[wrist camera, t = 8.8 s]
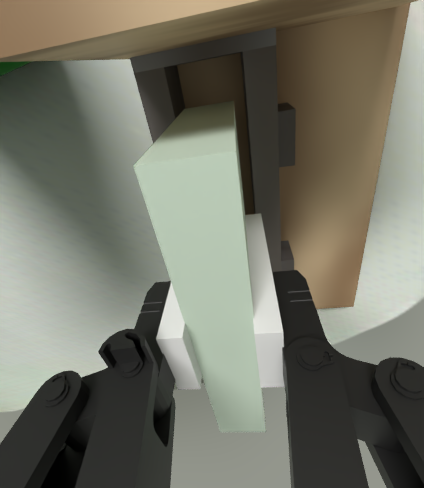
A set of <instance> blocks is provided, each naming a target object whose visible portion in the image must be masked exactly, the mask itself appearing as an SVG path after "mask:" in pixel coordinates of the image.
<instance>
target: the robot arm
mask: <svg viewBox="0 0 424 488" xmlns="http://www.w3.org/2000/svg"><path fill="white" fill-rule="evenodd" d="M245 221H246V232H247V244H248V255H249V267H250V278H251V290H252V301H253V313H254V318H253V324H254V336H255V344H256V353H257V361H258V370H259V378H260V387H261V388H262V387H285V391H286V410H287V411H286V412H287V424H288V440H289V457H290V474H291V488H369V486H368V482H367V478H366V474H365V470H364V465H363V462H362V457H361V453H360V448H359V444H358V440H357V439H360V440H362V441H365V443H366V445H367V447H368V449H369V451H370V453H371V455H372V458H373V460H374V462H375V464H376V466H377V468H378V470H379V472H380V474H381V476H382V479H383V481H384V483H385V485H386V487H387V488H424V367H422V366H420V365H419V364H417V363H415V362H413V361H410V360H407V359H404V358H388V359H385V360H383V361H381V362H380V363H379V364H378V365H374V364H370V363H366V362H362V361H358V360H354V359H352V358H349V357H346V356H344V355H342V354H341V353H339V352H338V351H336V350H335V349H334V348H333V347H332V346H331V345H330V344H329V342H328V341H327V339H326V337H325V334H324V331H323V328H322V325H321V322H320V319H319V316H318V313H317V310H316V308H315V305H314V302H313V299H312V296H311V293H310V290H309V287H308V284H307V281H306V278H305V277H304V276H303V275H302V274H301V273H300V272H299V271H298V270H290V271H278V272H272V269H271V264H270V259H269V253H268V248H267V243H266V237H265V232H264V227H263V222H262V216H261V213H260V214H251V215H245ZM99 354H100V355H101V357H102V358H103V360H104V361H105V363H106V364H107V366H108V368H106V369H104V370H102V371H99V372H96V373H93V374H90V375H88V376H85V377H82V378H81V377H80V375H79V374H78V373H76V372H74V371H63V372H61V373H58V374H56V375H54V376H53V377H51V378H50V379H49V380H47V381H46V382H45V383H44V384H43V385H42V386H41V387H40V389H39V390H38V391H37V392H36V394H35V395H34V397H33V398H32V400H31V401H30V402H29V404H28V405H27V407H26V408H25V410H24V411H23V412H22V414H21V415H20V417H19V418H18V420H17V421H16V422H15V424H14V425H13V427H12V428H11V430H10V431H9V432H8V434H7V435H6V437H5V438H4V440H3V441H2V442H1V444H0V488H170V480H171V465H172V451H173V450H172V449H173V436H174V435H173V434H174V420H175V400H174V398H173V396H172V395H173V389H174V383H176V385H177V388H178V390H182V389H183V390H185V389H200V387H201V378H202V373H201V370H200V367H199V364H198V361H197V357H196V354H195V351H194V348H193V345H192V342H191V339H190V336H189V333H188V330H187V327H186V324H185V322H184V320H183V317H182V314H181V311H180V308H179V304H178V301H177V298H176V295H175V292H174V289H173V286H172V283H171V281H168V282H156V283H155V284H154V285H153V286H152V287H151V289H150V290H149V291H148V292H147V295H146V298H145V300H144V305H143V306H142V309H141V314H139V317H138V320H137V323H136V326H135V328H134V329H125V330H122V331H119V332H117V333H115V334H114V335H112V336H110V337H109V338H108V339H107V340H106V341H105V342H104V343H103V344H102V346H101V348H100V350H99Z"/></svg>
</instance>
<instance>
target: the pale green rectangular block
mask: <svg viewBox="0 0 424 488" xmlns="http://www.w3.org/2000/svg"><path fill="white" fill-rule="evenodd" d="M133 167H134V170H135V173H136V176H137V179H138V182H139V185H140V188H141V191H142V194H143V197H144V200H145V203H146V206H147V210H148V213H149V216H150V219H151V222H152V225H153V228H154V231H155V234H156V237H157V240H158V243H159V246H160V249H161V252H162V255H163V259H164V262H165V265H166V268H167V271H168V274H169V277H170V280H171V283H172V286H173V289H174V292H175V295H176V298H177V301H178V304H179V308H180V311H181V314H182V317H183V320H184V322H185V324H186V327H187V330H188V333H189V336H190V339H191V342H192V345H193V348H194V351H195V354H196V357H197V361H198V364H199V367H200V370H201V373H202V378H203V381H204V384H205V387H206V390H207V393H208V396H209V399H210V402H211V405H212V408H213V411H214V415H215V418H216V421H217V424H218V427H219V430H220V432H266V426H265V414H264V404H263V393H262V388H261V387H260V378H259V370H258V361H257V353H256V344H255V336H254V324H253V318H254V313H253V301H252V290H251V278H250V267H249V255H248V244H247V232H246V221H245V209H244V199H243V189H242V179H241V169H240V160H239V150H238V140H237V130H236V120H235V111H234V101H228V102H222V103H216V104H210V105H205V106H199V107H193V108H187V109H184V110H183V111H182V112H181V113H180V114H179V116H178V117H177V118H176V119H175V120H174V121H173V122H172V123H171V124H170V126H169V127H168V128H167V129H166V130H165V131H164V132H163V133H162V135H161V136H160V137H159V138H158V139H157V140H156V141H155V142H154V143H153V145H152V146H151V147H150V148H149V149H148V150H147V151H146V152H145V153H144V155H143V156H142V157H141V158H140V159H139V160H138V161H137V162H136V164H135V165H134V166H133Z"/></svg>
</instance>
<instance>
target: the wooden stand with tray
mask: <svg viewBox="0 0 424 488" xmlns="http://www.w3.org/2000/svg"><path fill="white" fill-rule="evenodd" d="M414 1H417V0H0V62H21V61H65V60H110V59H130V60H131V64H132V68H133V71H134V75H135V78H136V82H137V86H138V89H139V93H140V97H141V100H142V104H143V108H144V111H145V115H146V118H147V122H148V126H149V129H150V133H151V137H152V140H153V143H154V142H155V141H156V140H157V139H158V138H159V137H160V136H161V135H162V133H163V132H164V131H165V130H166V129H167V128H168V127H169V126H170V124H171V123H172V122H173V121H174V120H175V119H176V118H177V117H178V116H179V114H180V113H181V112H182V111H183V110H184V109H187V108H193V107H199V106H205V105H210V104H216V103H222V102H228V101H234V111H235V120H236V130H237V140H238V150H239V160H240V169H241V179H242V189H243V199H244V209H245V215H251V214H260V213H261V216H262V222H263V227H264V232H265V237H266V243H267V248H268V253H269V259H270V264H271V269H272V272H278V271H290V270H298V271H299V272H300V273H301V274H302V275H303V276H304V277H305V278H306V281H307V284H308V287H309V290H310V293H311V296H312V299H313V302H314V305H315V308H316V309H321V308H337V307H353V306H354V301H355V295H356V290H357V285H358V279H359V274H360V269H361V263H362V258H363V253H364V247H365V242H366V237H367V231H368V226H369V221H370V215H371V210H372V205H373V199H374V194H375V189H376V183H377V178H378V173H379V167H380V162H381V157H382V151H383V146H384V141H385V135H386V130H387V125H388V119H389V114H390V109H391V103H392V98H393V93H394V87H395V82H396V77H397V71H398V66H399V61H400V55H401V50H402V45H403V39H404V34H405V29H406V23H407V18H408V13H409V7H410V3H411V2H414Z"/></svg>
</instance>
